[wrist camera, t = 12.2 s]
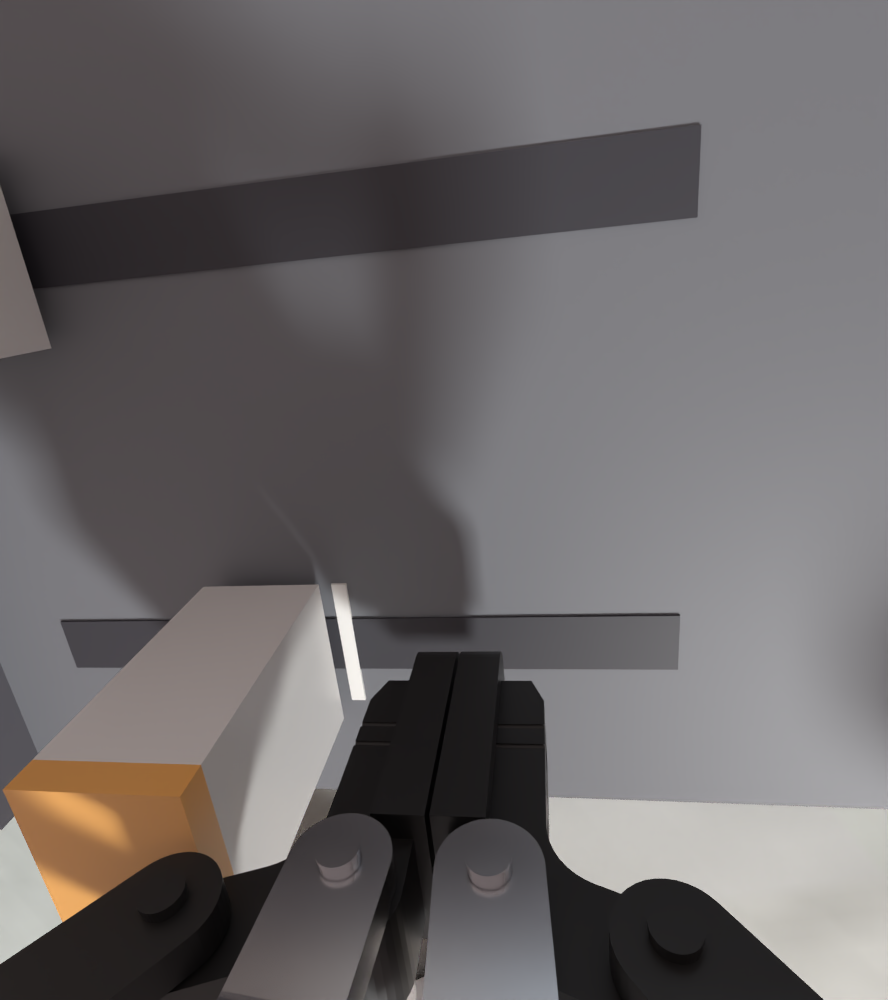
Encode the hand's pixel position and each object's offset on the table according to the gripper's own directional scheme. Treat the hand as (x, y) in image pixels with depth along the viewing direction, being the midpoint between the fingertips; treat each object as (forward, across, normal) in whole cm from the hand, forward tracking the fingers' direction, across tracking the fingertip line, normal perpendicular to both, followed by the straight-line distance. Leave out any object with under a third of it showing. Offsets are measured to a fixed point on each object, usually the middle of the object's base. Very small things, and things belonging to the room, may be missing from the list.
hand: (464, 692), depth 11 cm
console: (+3, +2, -4) cm, 6 cm away
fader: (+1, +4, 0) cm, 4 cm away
